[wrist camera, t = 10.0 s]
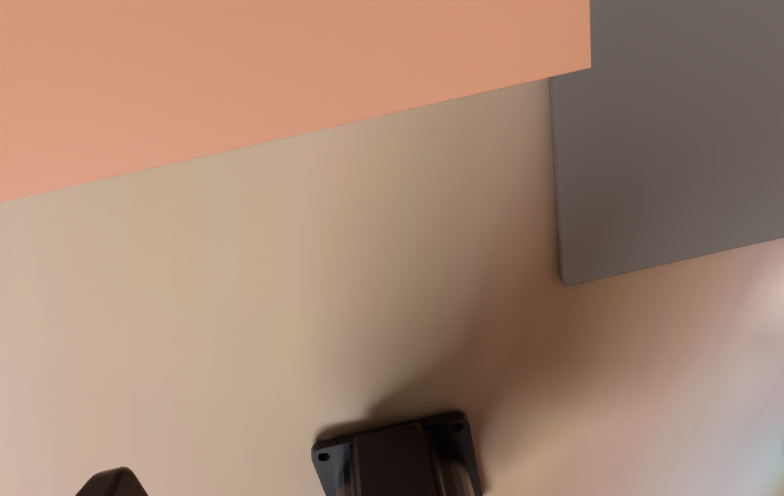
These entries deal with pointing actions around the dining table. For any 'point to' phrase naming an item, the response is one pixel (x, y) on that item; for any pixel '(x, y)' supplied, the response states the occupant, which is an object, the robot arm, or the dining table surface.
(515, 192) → the dining table surface
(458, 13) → the orange square knob plate
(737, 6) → the mat
